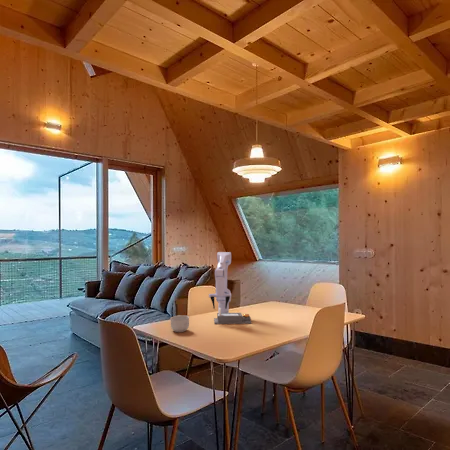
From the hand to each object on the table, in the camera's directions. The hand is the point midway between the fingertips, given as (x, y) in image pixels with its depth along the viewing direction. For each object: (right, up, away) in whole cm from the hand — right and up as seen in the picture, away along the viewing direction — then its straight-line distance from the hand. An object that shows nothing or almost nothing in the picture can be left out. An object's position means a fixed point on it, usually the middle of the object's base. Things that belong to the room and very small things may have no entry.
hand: (219, 308), depth 238 cm
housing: (+8, -9, 0) cm, 12 cm away
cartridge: (+6, -7, 0) cm, 9 cm away
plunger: (+17, -7, +1) cm, 18 cm away
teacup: (-23, -8, -22) cm, 33 cm away
